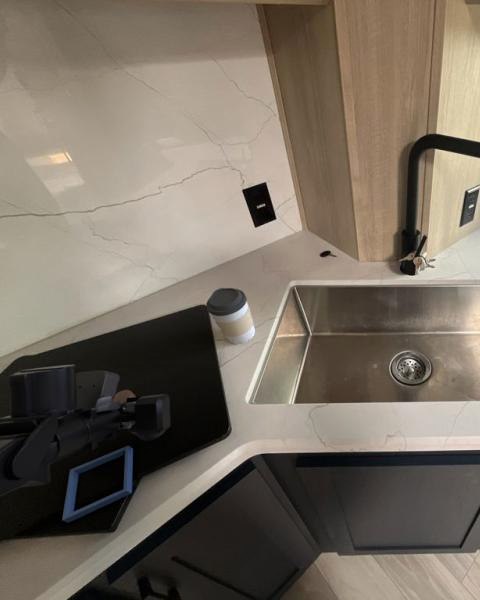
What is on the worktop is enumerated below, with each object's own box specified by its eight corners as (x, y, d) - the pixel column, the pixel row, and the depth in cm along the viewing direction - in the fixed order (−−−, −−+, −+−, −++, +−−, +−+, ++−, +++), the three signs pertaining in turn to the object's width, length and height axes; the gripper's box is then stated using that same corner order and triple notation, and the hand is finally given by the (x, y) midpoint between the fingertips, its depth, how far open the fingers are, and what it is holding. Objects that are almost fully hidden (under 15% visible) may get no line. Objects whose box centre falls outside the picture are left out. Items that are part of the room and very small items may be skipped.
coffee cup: (266, 335, 88) (250, 295, 78) (234, 355, 83) (213, 314, 73) (249, 319, 92) (232, 278, 82) (218, 336, 87) (196, 295, 77)
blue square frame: (71, 524, 56) (61, 520, 54) (78, 474, 61) (69, 469, 60) (134, 494, 59) (127, 490, 57) (135, 450, 65) (128, 445, 63)
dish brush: (137, 447, 63) (101, 417, 55) (138, 423, 66) (103, 391, 58) (170, 433, 65) (139, 402, 57) (169, 411, 69) (140, 378, 60)
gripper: (135, 373, 48) (190, 359, 64) (-7, 386, 46) (86, 368, 61) (138, 448, 48) (192, 416, 63) (-6, 465, 46) (88, 427, 61)
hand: (140, 405), depth 62 cm, fingers closed on dish brush, 3 cm apart
